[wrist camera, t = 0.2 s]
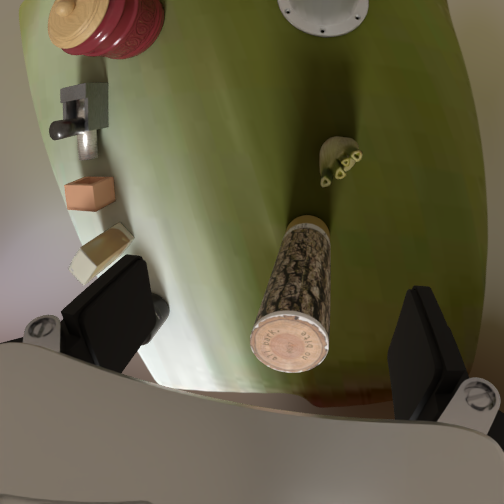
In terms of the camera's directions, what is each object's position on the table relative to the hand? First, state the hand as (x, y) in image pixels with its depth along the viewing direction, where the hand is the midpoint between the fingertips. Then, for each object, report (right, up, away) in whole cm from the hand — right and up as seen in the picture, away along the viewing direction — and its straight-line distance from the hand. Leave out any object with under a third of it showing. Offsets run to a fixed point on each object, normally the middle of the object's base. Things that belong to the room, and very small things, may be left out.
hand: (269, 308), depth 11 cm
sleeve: (-28, +27, +35) cm, 53 cm away
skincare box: (-25, +4, +46) cm, 53 cm away
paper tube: (+8, +5, +38) cm, 39 cm away
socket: (-28, +14, +42) cm, 52 cm away
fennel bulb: (+11, +16, +31) cm, 37 cm away
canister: (-20, +39, +28) cm, 52 cm away
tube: (-28, +25, +37) cm, 52 cm away
